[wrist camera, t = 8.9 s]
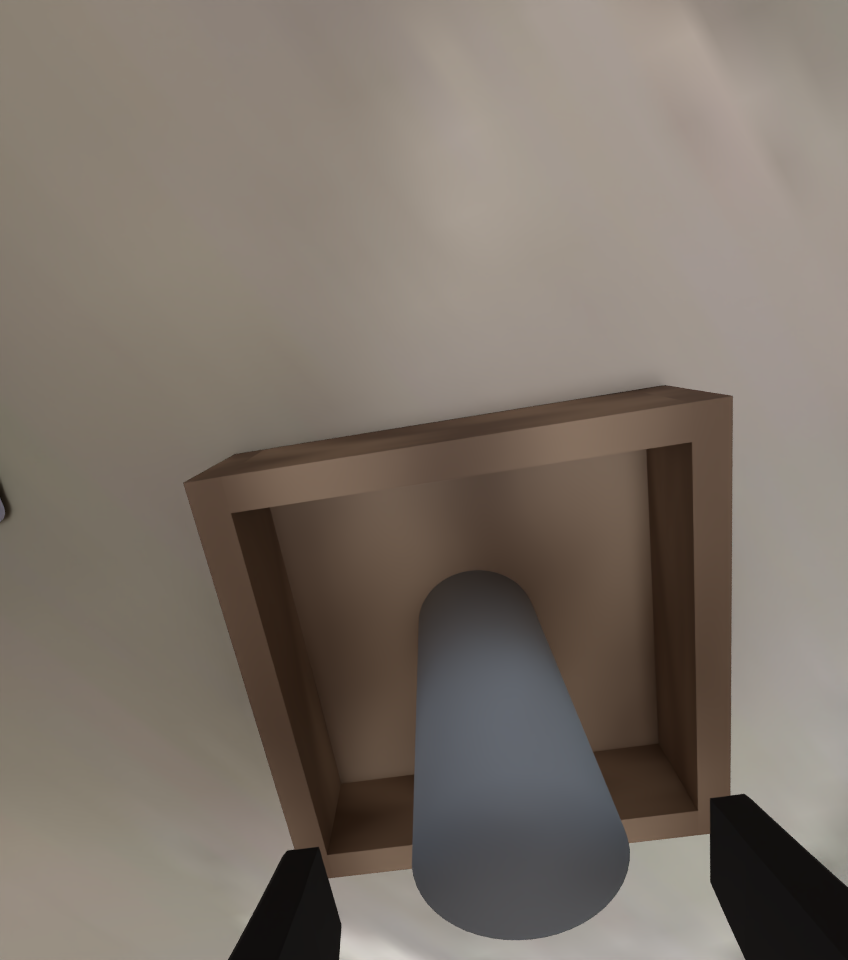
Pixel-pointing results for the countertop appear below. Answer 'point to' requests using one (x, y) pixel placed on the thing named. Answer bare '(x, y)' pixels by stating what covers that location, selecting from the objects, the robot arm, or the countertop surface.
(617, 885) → the peg
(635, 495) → the open box
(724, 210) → the countertop surface
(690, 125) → the countertop surface
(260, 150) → the countertop surface
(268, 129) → the countertop surface
